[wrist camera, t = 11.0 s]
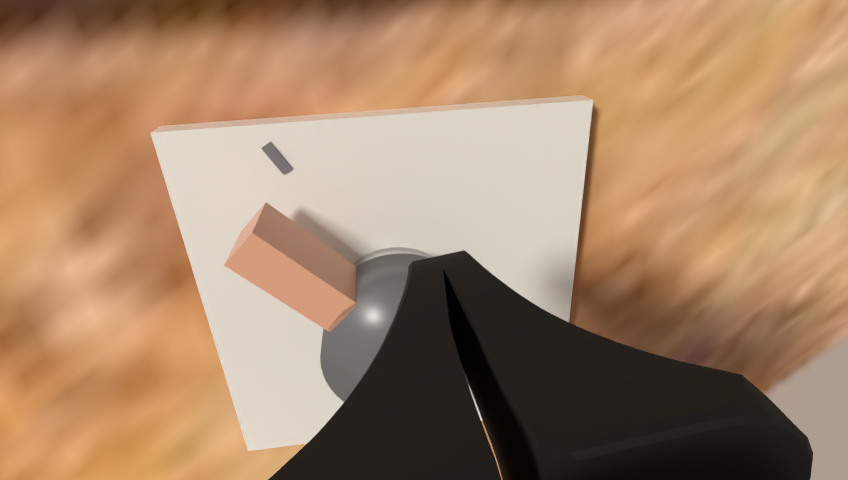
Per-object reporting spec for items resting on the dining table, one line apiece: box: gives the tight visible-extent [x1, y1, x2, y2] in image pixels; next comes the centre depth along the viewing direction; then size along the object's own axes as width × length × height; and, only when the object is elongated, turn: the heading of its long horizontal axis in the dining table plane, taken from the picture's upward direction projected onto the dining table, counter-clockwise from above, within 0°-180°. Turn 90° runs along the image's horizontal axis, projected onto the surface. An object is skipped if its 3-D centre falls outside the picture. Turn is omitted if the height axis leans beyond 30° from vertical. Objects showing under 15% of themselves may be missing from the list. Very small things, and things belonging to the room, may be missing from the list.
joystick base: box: [151, 95, 593, 451], centre depth 21 cm, size 16×16×2 cm
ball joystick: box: [224, 202, 469, 402], centre depth 18 cm, size 10×6×2 cm, turn 46°
